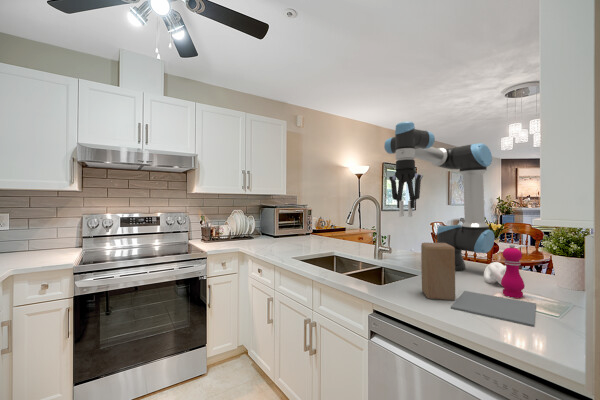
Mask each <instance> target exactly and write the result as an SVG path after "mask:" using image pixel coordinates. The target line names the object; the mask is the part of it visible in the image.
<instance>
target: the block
mask: <svg viewBox="0 0 600 400" xmlns="http://www.w3.org/2000/svg"><path fill="white" fill-rule="evenodd" d="M420 250H421V253H420V258H421V265H420V266H421V291H422V293H423V294H424V295H425V296H426V298H427V299H429V300H430V299H431V300H447V301H453V300H455V301H456V271H455V248H454V247H453V246H451V245H449V244H447V243H437V242H421V245H420Z"/></svg>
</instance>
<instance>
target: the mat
mask: <svg viewBox="0 0 600 400" xmlns="http://www.w3.org/2000/svg"><path fill="white" fill-rule="evenodd" d="M536 307H537V303H536V302H530V301H523V300H520V299H515V298H509V297H508V298H507V297H502V296H497V295H491V294H484V293H479V292H474V291H468V290H464V291H462V293H461V294H460V295H459V296H458V297H457V299H455V301H454V302H453V303H452V304H451V306H450V309H452V310H456V311H460V312H465V313H470V314H474V315H479V316H484V317H488V318H491V319H492V318H493V319H497V320H501V321H506V322H511V323H514V324H519V325H520V324H521V325H524V326H529V327H534V328H535V322H536V312H535V311H537V310H536V309H537V308H536Z"/></svg>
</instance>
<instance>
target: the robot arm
mask: <svg viewBox="0 0 600 400" xmlns="http://www.w3.org/2000/svg"><path fill="white" fill-rule="evenodd" d="M435 139H436V138H435V135H434V133H433V132H431V131H428V130H422V129H418V128H417V129H416V127H415V122H413V121H403V122H402V121H401V122H399V123H397V124H396V125H395V132H394V136H391V137H390V138H387V139H386V140H385V142H384V150H385V152H386V153H387V154H390V155H391V154H392V155H394V154H395V160H396V161H395V173H394V175H391V176H388V177H389V178H388V179H389V181H390V184H391V188H390V189H391V197H392V200H395V201H396V208H397V209H399V211H398V212H399V217H404V215H405V214H404V213H405V212H404V211H405V210H404V209H405V208H404V207H405V206H404V205H405V203H404V201H405V200H403V193H404V185H405V183H406V185H407V191H408V195H409V200H407V217H408V218H410V217H411V218H412V217H413V209H415V208H416V205H415V204H416V203H415V201H416V200H419V199H420V194H421V184H422V183H421V182H422V179H423V177H424V175H422V174H419V173H417V171H416V160H415V159H418V160H421V161H425V162H428V163H431V165H433V166H435V167H439V168H443V169H447V170H459V173H460V174H461V175H462V179H463V180H462V181H463V183H462V184H463V208H464V210H463V211H464V212H463V213H464V221H463V223H462V224H461V225H460V224H454V225H442V226H441V225H440V226H438V227H437V231H436V241H437V242H436V243H447V244H449V245H451V246H453V247H454V248H455V272H459V271H460V272H461V271H465V270H466V269H467V268H466V263H465V260H464V256H463V254H462V253H463V252H462V251H464V252H465V251H466V252H472V253H476V254H487V253H489V252H490V251H491V250H492V248H493V247H494V243H495V239H496V238H495V234H494V231H493V230H491V229H490V228H489V227H490V226H489V225H488V224H487V222H485V221H486V220H485V219H486V218H485V193H484V192H485V189H484V186H485V185H484V174H485V173H486V172H487V169H488V168H487V167H490V165H492V161H493V156H492V151H491V149H490V148H489V146H487V145H486V144H485V143H482V142H479V143H472V144H466V145H461V146H457V147H450V148H449V147H448V148H445V147H438V148H437V147H434V143H435V142H436V141H435ZM414 178H415V185H413V179H414ZM397 180H398V181H397ZM397 182H398V187H397Z"/></svg>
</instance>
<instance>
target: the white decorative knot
mask: <svg viewBox="0 0 600 400" xmlns="http://www.w3.org/2000/svg"><path fill="white" fill-rule="evenodd" d="M505 272H506V264H505V265H504V264H502V263H501V262H500V261H499V262H498V261H495V262H491V263H489V264H488V265H487V266H486V267H485V269H484V271H483V279H484V281H485V282H486V283H488V284H493V285H494V284H496V283H498V284H499V285H501V280H502V278H503V276H504V274H505ZM501 286H502V285H501Z"/></svg>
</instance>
